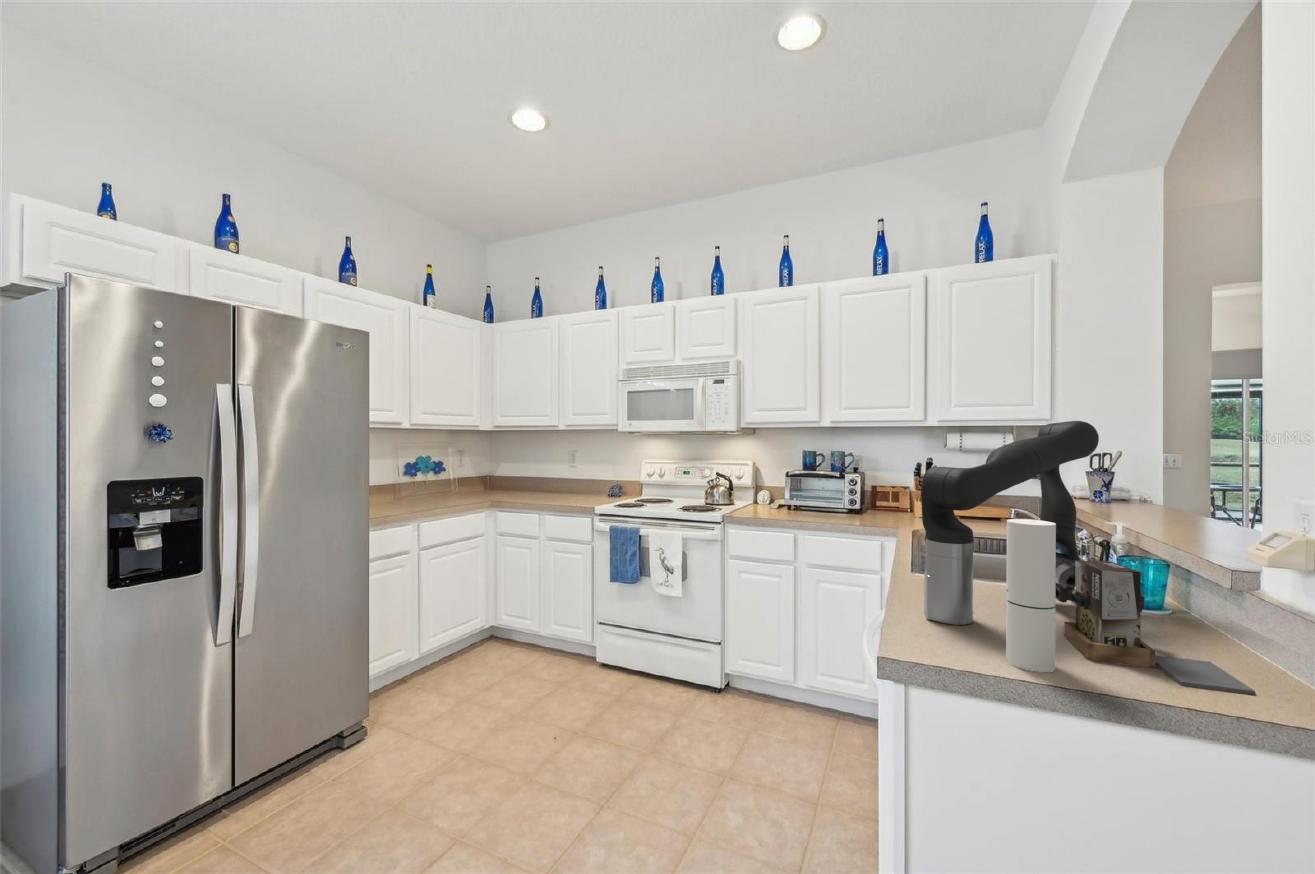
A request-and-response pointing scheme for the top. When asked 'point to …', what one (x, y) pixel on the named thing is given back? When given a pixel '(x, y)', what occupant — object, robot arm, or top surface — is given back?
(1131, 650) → the walnut sleeve
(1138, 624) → the coffee box
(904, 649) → the top surface
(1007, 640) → the cylindrical container
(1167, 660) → the rubber mat
